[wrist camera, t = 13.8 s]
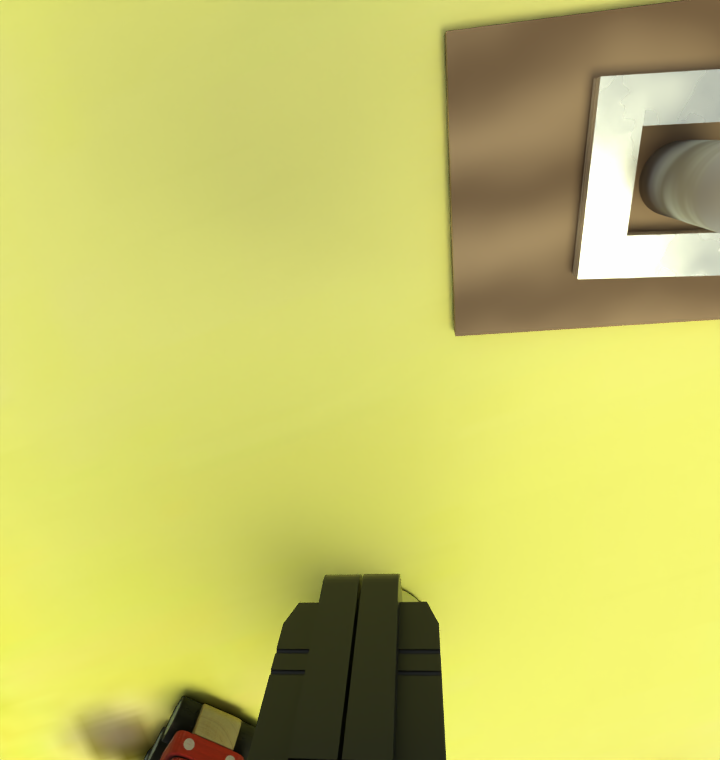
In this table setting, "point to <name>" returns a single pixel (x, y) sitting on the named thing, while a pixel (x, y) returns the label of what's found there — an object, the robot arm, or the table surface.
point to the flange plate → (618, 169)
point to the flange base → (570, 167)
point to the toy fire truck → (202, 735)
